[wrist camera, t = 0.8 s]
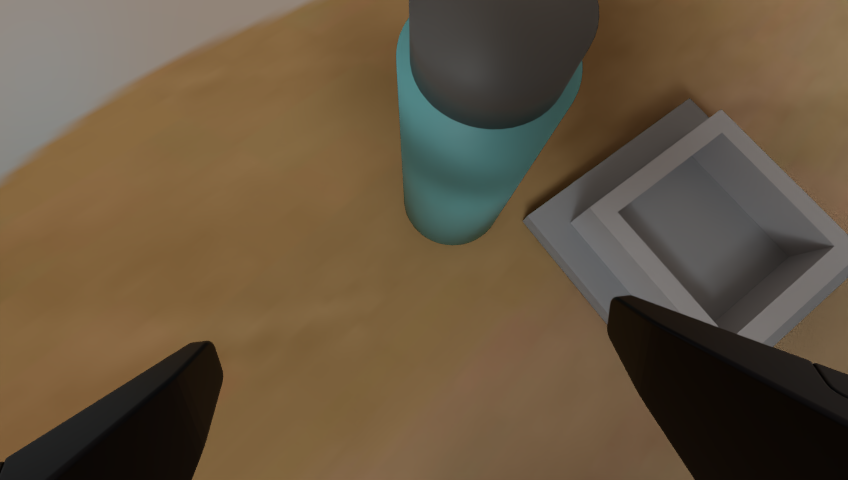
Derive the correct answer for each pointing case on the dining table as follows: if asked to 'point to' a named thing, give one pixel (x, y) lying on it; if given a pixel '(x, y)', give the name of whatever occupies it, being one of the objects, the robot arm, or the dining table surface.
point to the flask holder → (696, 229)
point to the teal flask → (482, 102)
